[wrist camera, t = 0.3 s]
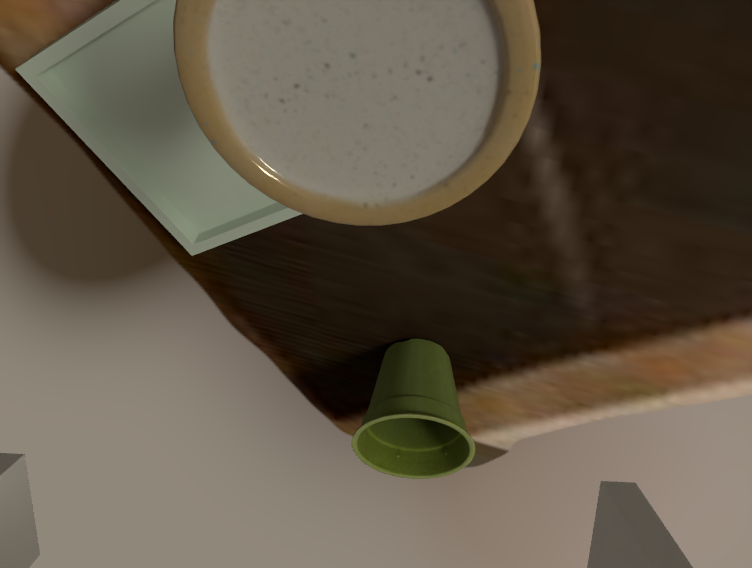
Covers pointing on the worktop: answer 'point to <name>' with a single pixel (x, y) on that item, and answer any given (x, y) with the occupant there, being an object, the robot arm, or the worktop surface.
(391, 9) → the candle holder
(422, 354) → the plant pot
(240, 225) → the tray
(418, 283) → the worktop surface
